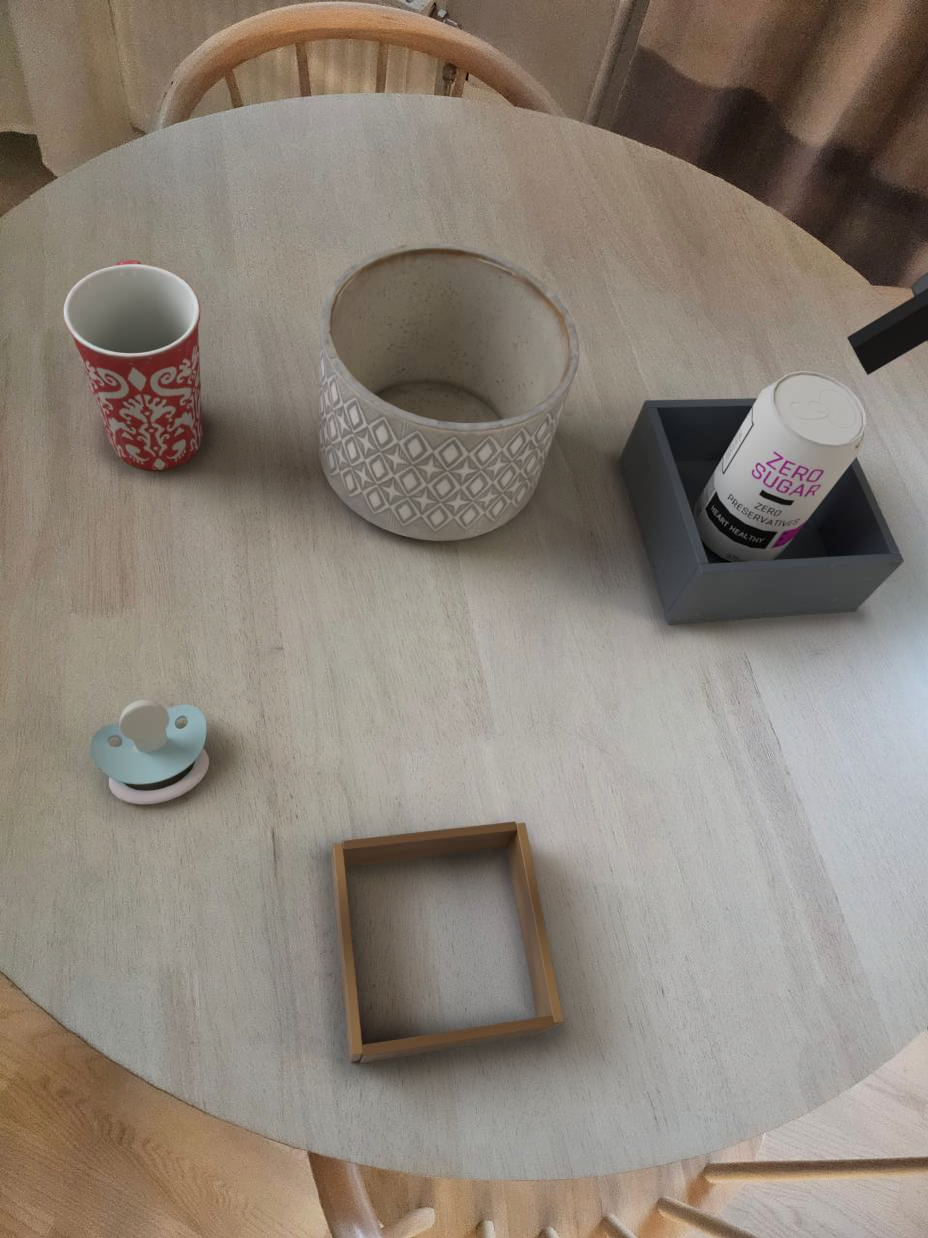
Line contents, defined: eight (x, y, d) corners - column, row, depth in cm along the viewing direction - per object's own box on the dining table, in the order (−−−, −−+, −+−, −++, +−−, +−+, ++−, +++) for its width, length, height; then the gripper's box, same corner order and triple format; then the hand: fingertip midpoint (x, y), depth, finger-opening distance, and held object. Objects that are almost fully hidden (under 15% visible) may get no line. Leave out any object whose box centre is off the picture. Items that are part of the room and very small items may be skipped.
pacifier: (223, 787, 63) (200, 708, 66) (216, 754, 58) (192, 669, 60) (110, 821, 61) (91, 738, 63) (92, 791, 56) (72, 701, 58)
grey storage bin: (854, 611, 78) (904, 561, 72) (667, 625, 75) (701, 573, 68) (790, 454, 86) (829, 396, 80) (618, 460, 83) (645, 399, 76)
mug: (220, 476, 76) (205, 351, 64) (100, 485, 74) (63, 358, 62) (207, 361, 82) (191, 227, 70) (96, 366, 80) (61, 229, 68)
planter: (360, 576, 73) (371, 455, 61) (289, 399, 81) (286, 260, 68) (573, 521, 79) (623, 401, 66) (487, 361, 87) (518, 227, 74)
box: (549, 1033, 58) (564, 1024, 55) (349, 1065, 56) (352, 1058, 52) (513, 838, 64) (524, 820, 61) (330, 859, 62) (332, 841, 58)
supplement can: (764, 488, 83) (849, 363, 70) (796, 567, 79) (892, 449, 66) (678, 493, 81) (748, 365, 68) (706, 573, 77) (787, 454, 64)
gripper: (1778, 468, 31) (1081, 733, 40) (1280, 30, 42) (828, 313, 51) (1925, 357, 25) (1067, 699, 34) (1300, -116, 36) (785, 233, 45)
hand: (922, 467), depth 42 cm, fingers open, 13 cm apart
